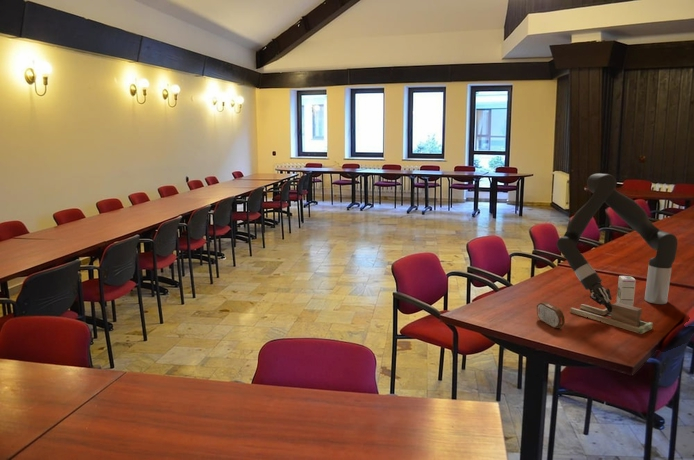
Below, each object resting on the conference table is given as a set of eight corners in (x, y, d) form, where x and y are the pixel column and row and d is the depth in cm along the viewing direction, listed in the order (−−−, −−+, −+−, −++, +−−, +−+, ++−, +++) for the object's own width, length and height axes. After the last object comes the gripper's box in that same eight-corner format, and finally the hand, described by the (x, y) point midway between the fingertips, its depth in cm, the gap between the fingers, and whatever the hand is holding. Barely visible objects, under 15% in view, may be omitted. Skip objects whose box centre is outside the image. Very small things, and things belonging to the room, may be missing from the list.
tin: (564, 330, 212) (566, 310, 210) (557, 331, 211) (559, 311, 210) (540, 317, 226) (542, 299, 225) (534, 318, 225) (536, 299, 224)
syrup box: (633, 311, 235) (636, 279, 232) (618, 310, 236) (622, 278, 233) (629, 306, 240) (632, 276, 237) (615, 305, 242) (618, 275, 239)
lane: (586, 306, 241) (587, 300, 240) (657, 326, 217) (657, 320, 217) (570, 312, 233) (570, 307, 232) (641, 334, 209) (642, 328, 208)
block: (614, 320, 224) (617, 302, 222) (639, 327, 216) (641, 308, 214) (610, 322, 221) (612, 304, 220) (635, 329, 213) (637, 310, 212)
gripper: (586, 274, 223) (611, 310, 216) (602, 269, 230) (627, 304, 223) (573, 283, 228) (597, 318, 221) (589, 278, 236) (613, 312, 229)
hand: (612, 311), depth 222 cm, fingers closed
